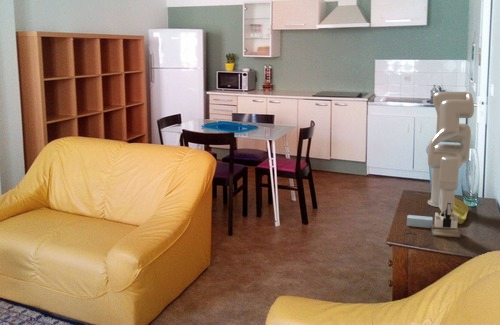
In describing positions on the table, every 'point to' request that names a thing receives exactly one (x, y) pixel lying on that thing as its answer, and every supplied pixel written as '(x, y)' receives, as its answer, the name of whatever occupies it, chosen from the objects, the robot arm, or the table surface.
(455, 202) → the plastic component
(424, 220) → the light blue rectangular block
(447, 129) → the robot arm
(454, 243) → the table surface
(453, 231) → the assembly jig
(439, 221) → the white i-beam block
